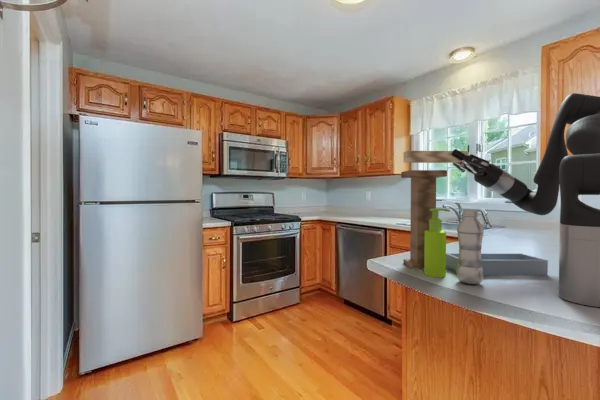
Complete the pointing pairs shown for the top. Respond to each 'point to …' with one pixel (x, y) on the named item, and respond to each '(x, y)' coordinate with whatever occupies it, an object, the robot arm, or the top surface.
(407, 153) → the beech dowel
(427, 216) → the walnut stand
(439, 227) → the soap dispenser
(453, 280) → the top surface
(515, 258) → the slate tray
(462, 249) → the plastic bottle
